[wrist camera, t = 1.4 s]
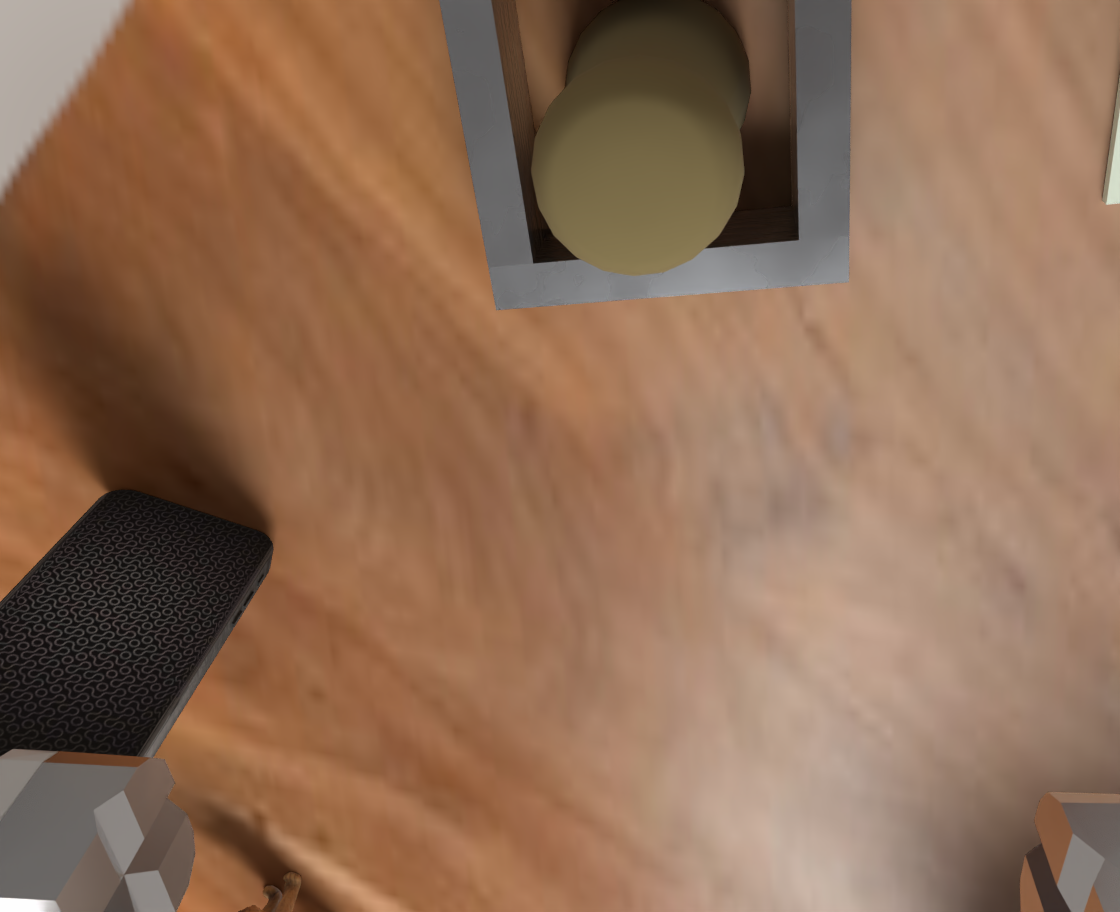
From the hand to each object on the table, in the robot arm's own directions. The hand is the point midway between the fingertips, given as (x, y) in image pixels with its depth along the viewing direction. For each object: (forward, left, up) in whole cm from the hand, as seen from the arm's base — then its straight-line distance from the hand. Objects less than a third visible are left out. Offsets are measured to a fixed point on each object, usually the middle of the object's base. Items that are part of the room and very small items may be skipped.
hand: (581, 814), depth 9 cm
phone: (+23, +15, -28) cm, 39 cm away
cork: (+1, -1, -28) cm, 28 cm away
